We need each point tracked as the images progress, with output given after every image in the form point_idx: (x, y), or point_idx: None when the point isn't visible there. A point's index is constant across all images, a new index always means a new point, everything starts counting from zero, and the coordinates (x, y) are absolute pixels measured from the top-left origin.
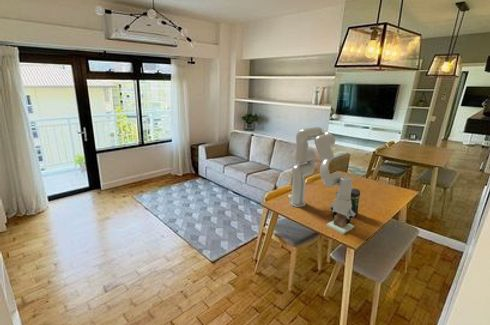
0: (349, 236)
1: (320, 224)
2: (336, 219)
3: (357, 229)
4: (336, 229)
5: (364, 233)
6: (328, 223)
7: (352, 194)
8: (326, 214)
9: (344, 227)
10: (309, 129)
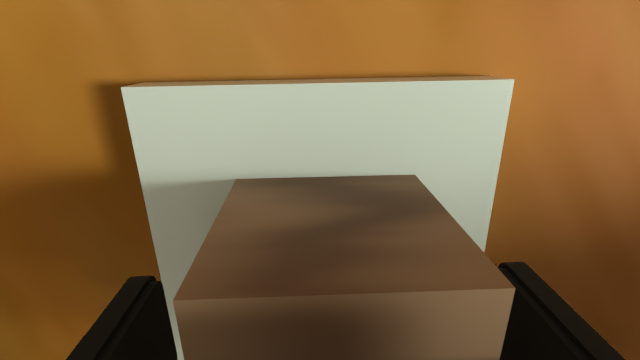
0: (44, 111)
1: (597, 30)
2: (393, 240)
3: None
4: (282, 81)
5: (18, 343)
6: (494, 121)
7: None
8: (627, 345)
9: None
10: None
